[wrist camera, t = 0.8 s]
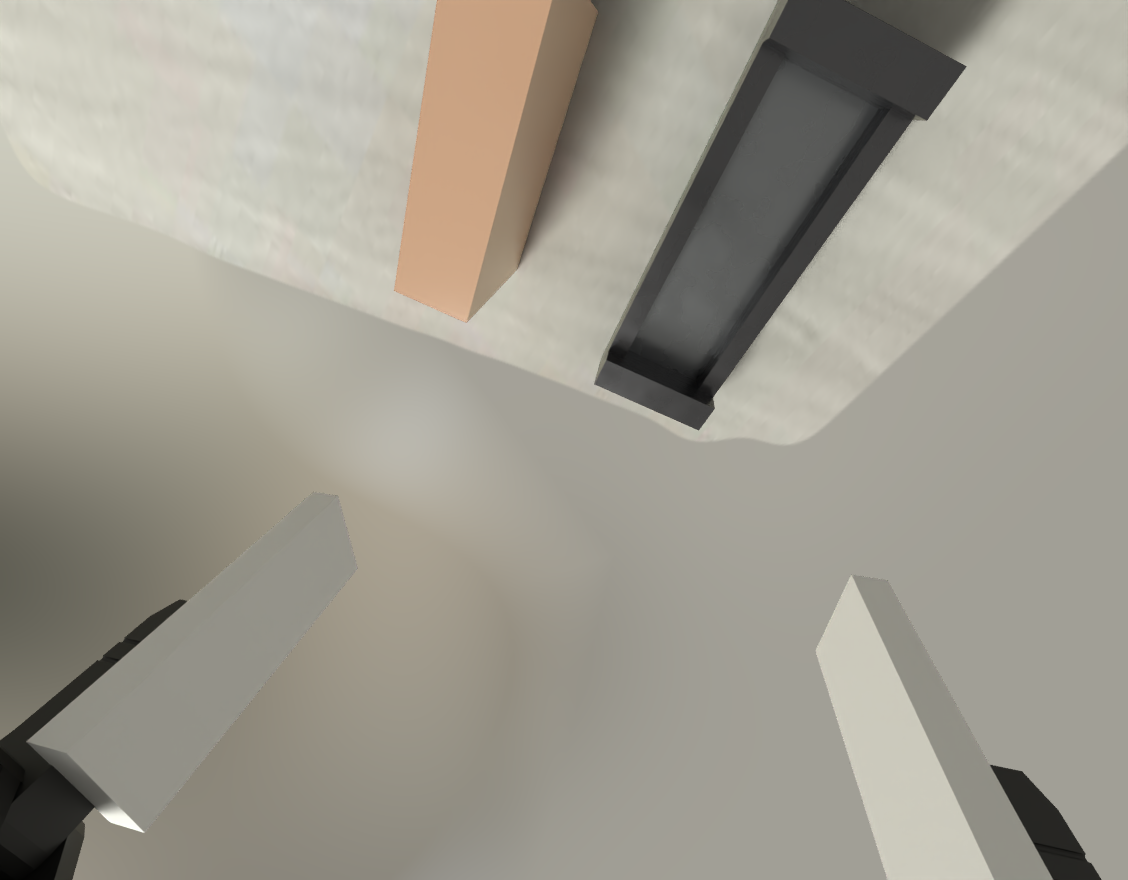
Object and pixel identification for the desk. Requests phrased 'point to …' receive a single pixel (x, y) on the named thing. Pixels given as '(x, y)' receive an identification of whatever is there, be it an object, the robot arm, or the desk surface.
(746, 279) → the dark grey tray
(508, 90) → the orange rectangular block
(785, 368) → the desk surface
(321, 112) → the desk surface
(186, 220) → the desk surface
